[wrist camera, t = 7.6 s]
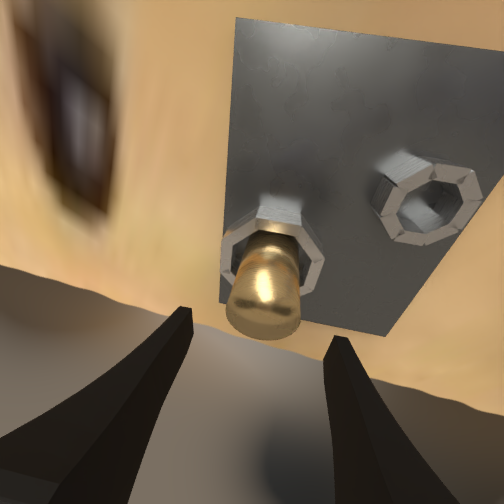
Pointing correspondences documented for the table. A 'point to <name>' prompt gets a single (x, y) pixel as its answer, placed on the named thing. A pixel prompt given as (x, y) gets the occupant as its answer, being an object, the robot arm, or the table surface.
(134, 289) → the table surface
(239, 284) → the brass cylinder
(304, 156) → the fitting board
